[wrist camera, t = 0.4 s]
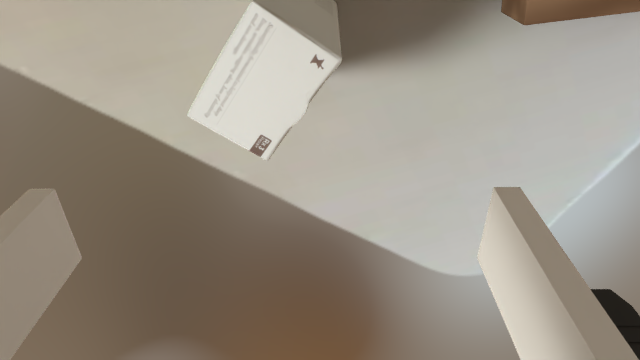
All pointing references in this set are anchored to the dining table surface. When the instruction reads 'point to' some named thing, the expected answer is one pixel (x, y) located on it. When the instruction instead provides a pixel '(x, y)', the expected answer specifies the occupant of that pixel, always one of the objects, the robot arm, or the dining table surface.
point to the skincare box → (269, 72)
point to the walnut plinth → (564, 9)
